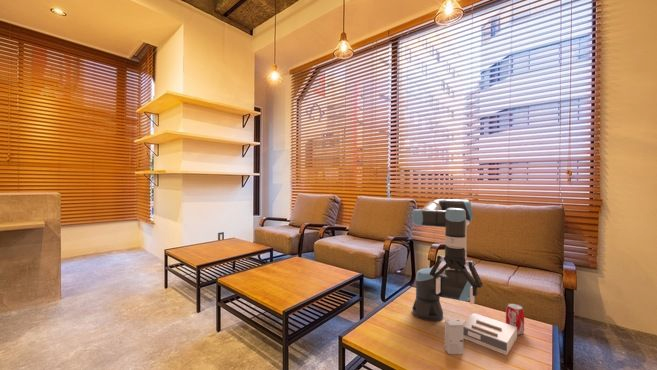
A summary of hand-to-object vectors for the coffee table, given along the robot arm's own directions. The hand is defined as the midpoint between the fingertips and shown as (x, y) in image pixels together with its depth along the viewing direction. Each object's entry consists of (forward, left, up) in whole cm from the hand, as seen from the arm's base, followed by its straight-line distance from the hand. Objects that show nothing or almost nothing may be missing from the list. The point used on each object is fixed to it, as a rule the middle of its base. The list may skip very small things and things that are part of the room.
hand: (454, 298), depth 113 cm
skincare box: (0, 0, -22) cm, 22 cm away
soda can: (+14, +35, -22) cm, 44 cm away
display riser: (+7, +21, -22) cm, 31 cm away
